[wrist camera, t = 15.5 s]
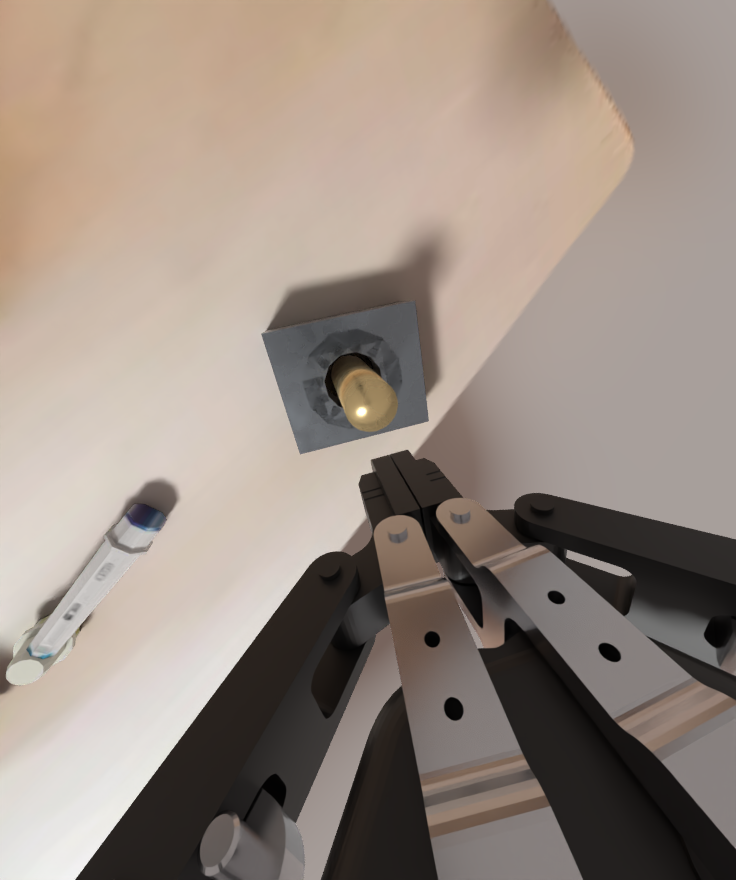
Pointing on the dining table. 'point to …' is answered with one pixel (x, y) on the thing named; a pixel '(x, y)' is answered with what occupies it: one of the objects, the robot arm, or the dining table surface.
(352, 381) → the brass plug
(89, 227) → the dining table surface
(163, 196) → the dining table surface
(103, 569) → the white electric toothbrush
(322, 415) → the plate
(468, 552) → the robot arm
